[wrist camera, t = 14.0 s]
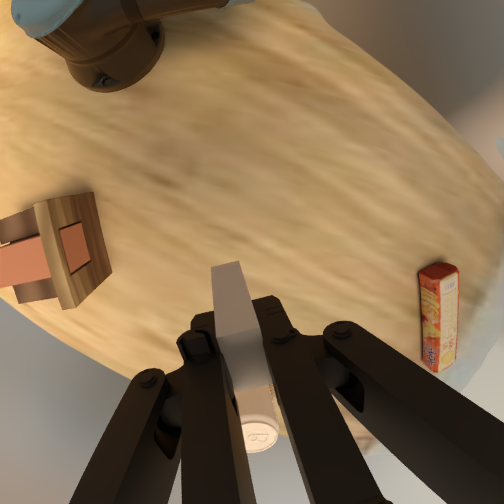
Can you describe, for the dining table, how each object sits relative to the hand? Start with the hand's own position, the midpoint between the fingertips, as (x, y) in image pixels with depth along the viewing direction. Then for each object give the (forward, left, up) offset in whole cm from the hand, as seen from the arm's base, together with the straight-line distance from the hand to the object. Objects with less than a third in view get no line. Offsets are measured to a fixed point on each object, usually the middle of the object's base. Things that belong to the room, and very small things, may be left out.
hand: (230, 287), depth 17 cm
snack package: (-15, +39, -28) cm, 50 cm away
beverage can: (+19, +23, -28) cm, 41 cm away
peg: (+20, -16, -21) cm, 33 cm away
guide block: (+20, -16, -27) cm, 37 cm away
